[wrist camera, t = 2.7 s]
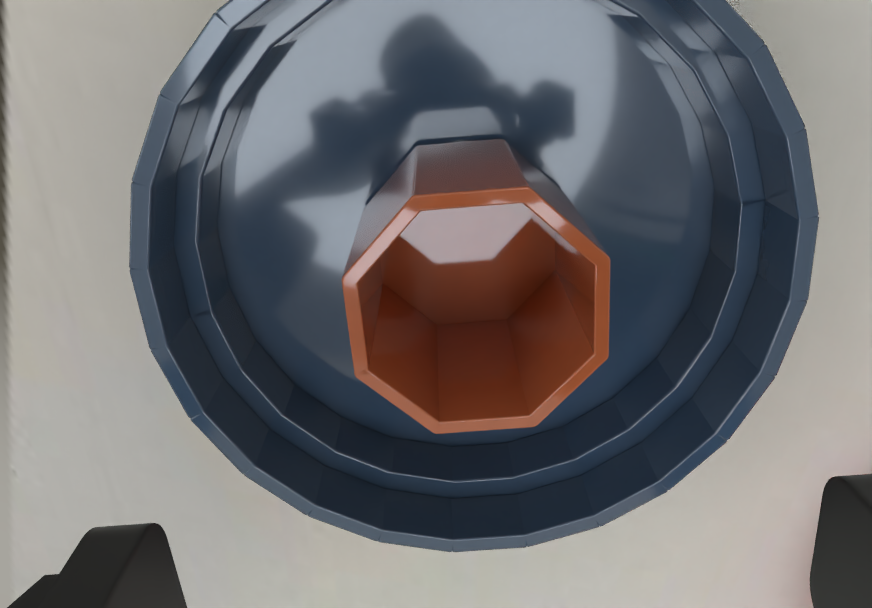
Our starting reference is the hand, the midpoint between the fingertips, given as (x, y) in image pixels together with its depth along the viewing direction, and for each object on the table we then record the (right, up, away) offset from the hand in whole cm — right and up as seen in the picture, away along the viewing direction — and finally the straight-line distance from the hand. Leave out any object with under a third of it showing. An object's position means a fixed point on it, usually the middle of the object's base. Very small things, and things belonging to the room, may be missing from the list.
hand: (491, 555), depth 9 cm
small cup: (0, +5, +13) cm, 14 cm away
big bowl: (0, +5, +13) cm, 14 cm away
